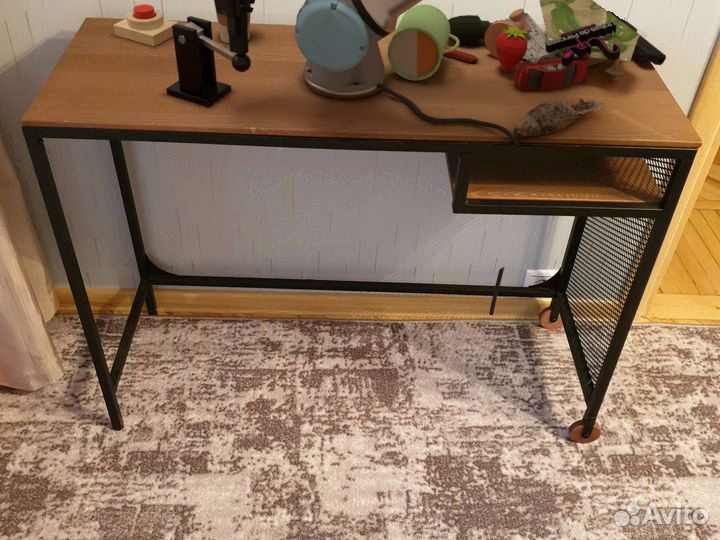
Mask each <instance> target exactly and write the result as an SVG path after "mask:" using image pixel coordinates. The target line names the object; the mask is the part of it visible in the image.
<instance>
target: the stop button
mask: <svg viewBox="0 0 720 540" xmlns="http://www.w3.org/2000/svg"><path fill="white" fill-rule="evenodd" d="M154 9H155V7H154V6H153V5H151V4H147V3H146V4H138V5H135V6H134V7H133V8H132V11H133V10H134V17H135V18H137V19H151V18H153V17H155V12H154Z"/></svg>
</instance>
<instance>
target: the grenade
mask: <svg viewBox="0 0 720 540" xmlns="http://www.w3.org/2000/svg"><path fill="white" fill-rule="evenodd" d="M448 21H449V24H450V34H451V35H454V36H456V37H457V38H458V39H459V42H460V44H466V45H473V44H478V43H479V41H480V40H485V33H486V31H487V29H488V28H489V27H490V26H491V25H492V24H493V22H490V20H482V19H481V17H480V16H479V15H474V14H473V15H472V14H466V15H465V14H464V15H457V16H453V17H450V18H449V19H448ZM448 41H451V42H455V43H456V41H455V40H454V39H452V38H450V37H449V40H448Z"/></svg>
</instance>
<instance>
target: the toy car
mask: <svg viewBox="0 0 720 540" xmlns="http://www.w3.org/2000/svg"><path fill="white" fill-rule="evenodd" d="M588 63H589V58H588V57H584V56H583V57H579V56H574V60H573V62H572V63H571V64H570V65H568V66H563V65H562V56H561V57H559V58H557V57H556V58H549V59H539V60H538V59H535V58H529V59H528V60H525V61H522V62H519V63H518V64H517V67H516V70H515V73H514V82H513V85H514V86H515V87H517V89H519V90H520V91H525V90H526V91H527V90H529V91H531V90H535V91H539V90H551V89H560V88H564V87H567V86H570V85H573V84H578V83H581V82H583V81H584V79H585V77H586V73H587V71H588V67H589V66H588Z"/></svg>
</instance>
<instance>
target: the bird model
mask: <svg viewBox="0 0 720 540" xmlns="http://www.w3.org/2000/svg"><path fill="white" fill-rule="evenodd" d="M577 99H578V100H579V101H578V102H577V101H573V100H571V103H570V102H569V100H566V99H564V100H561V101H558V102H557V101H552V100H551V101H545V102H543V103H540V104H538V105H536V106H534V107H533V108H532V109H530V110H529V111H528V112H527V113H526V114H525V115H523V116H522V118H521V119H520V120H518V122H516V125H515V126H513V127H512V128H513V129H512V134H513V135H514V136H517V137H520V138H526V137H530V136H534V137H539V136H545V135H548V134H552V133H557V132H559V131H562V130H563V129H564V128H566V127H568V126H569V125H571V124H573V123H574V122H575V121H576V120H577V119H578V118H580V117H582V116H583V114H584V113H586V112H591V111H596V110H602V109H604V108H605V107H606V106H605V105H603V104H604V103H603V102H600V101H599V102H596V98H590V99H588V100H585V101H584V98H577Z"/></svg>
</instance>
